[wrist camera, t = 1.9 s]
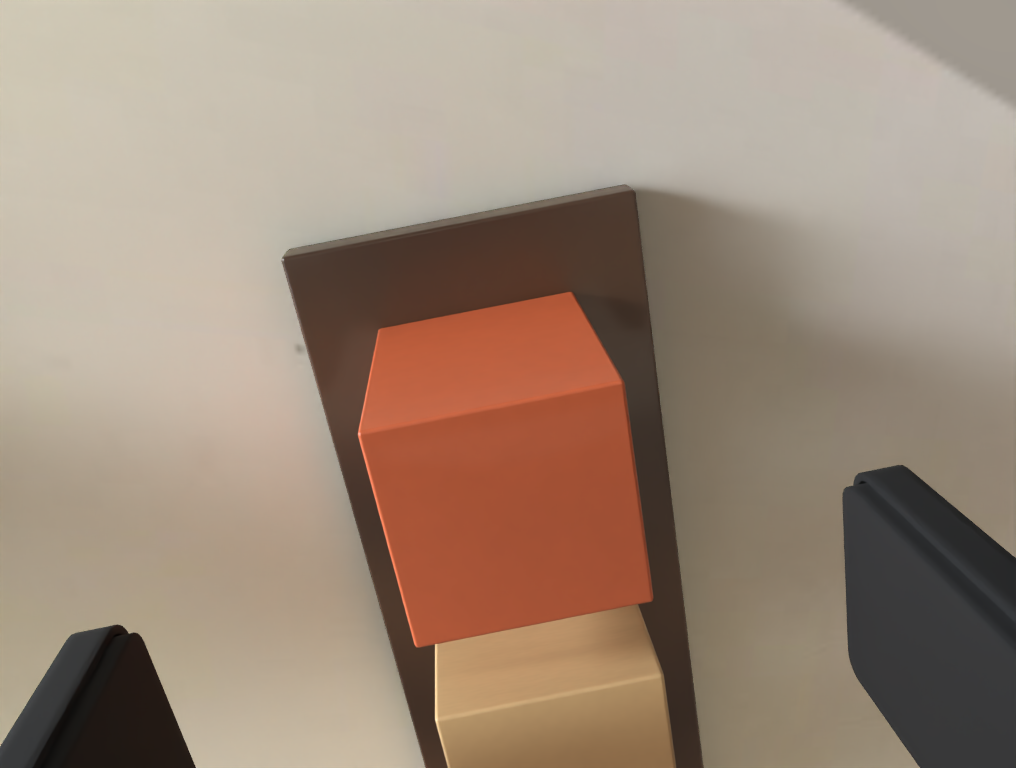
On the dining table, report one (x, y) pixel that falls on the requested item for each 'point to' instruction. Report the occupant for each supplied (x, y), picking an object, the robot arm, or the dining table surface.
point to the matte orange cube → (504, 470)
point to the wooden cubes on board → (628, 340)
